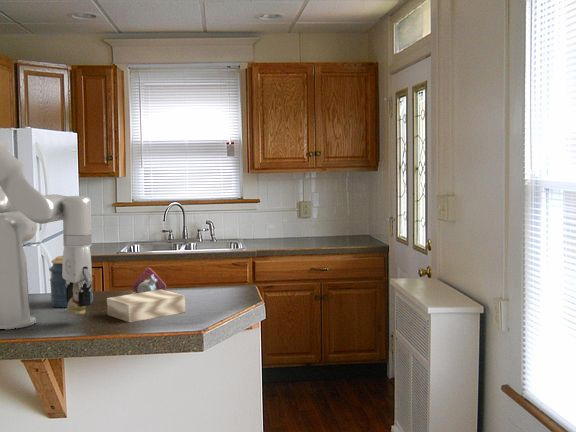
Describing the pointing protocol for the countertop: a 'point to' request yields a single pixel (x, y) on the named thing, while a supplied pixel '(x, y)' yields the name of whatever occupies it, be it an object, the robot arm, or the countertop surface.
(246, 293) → the countertop surface
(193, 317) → the countertop surface
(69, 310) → the chocolate bunny
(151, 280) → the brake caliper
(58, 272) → the canister
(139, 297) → the birch riser
